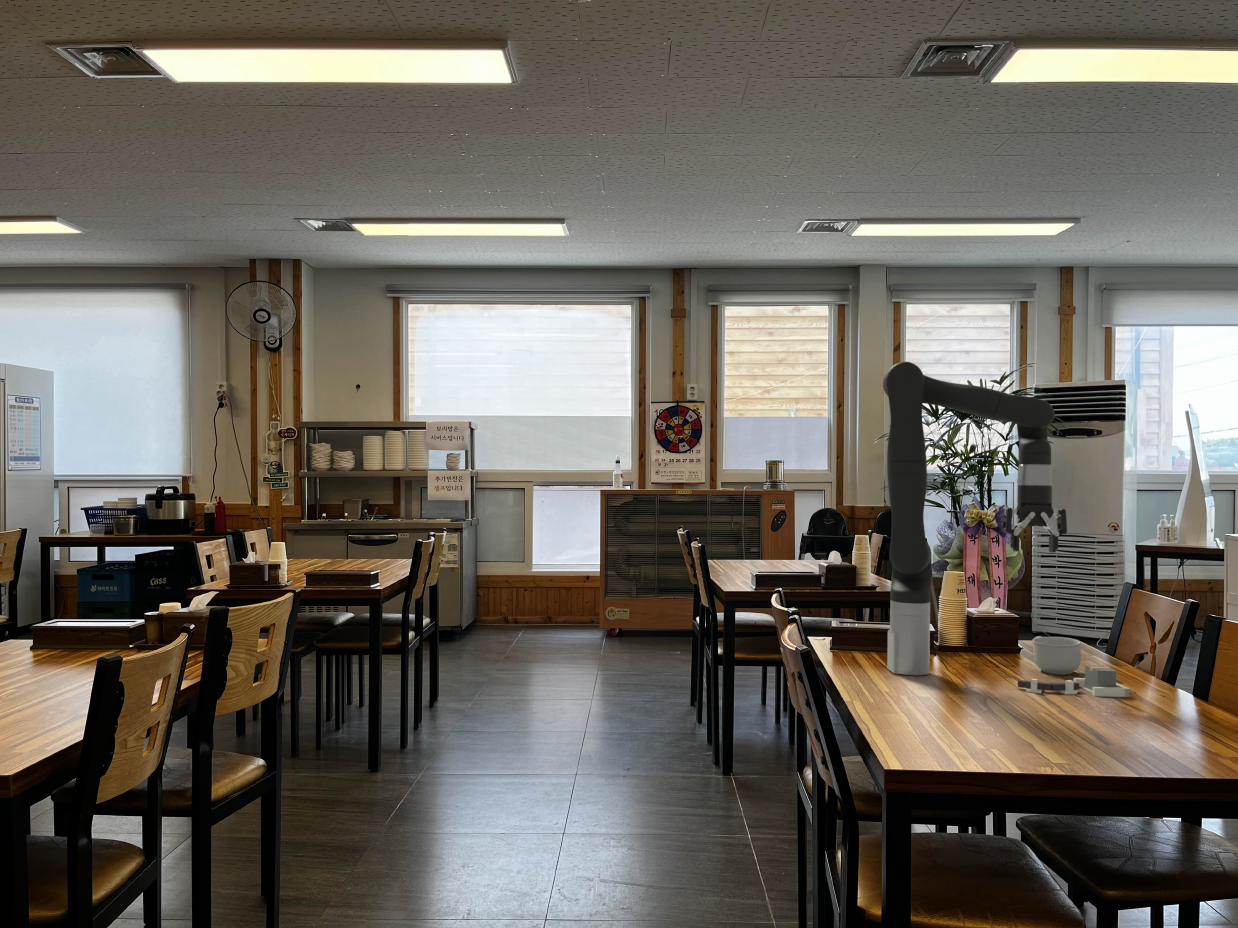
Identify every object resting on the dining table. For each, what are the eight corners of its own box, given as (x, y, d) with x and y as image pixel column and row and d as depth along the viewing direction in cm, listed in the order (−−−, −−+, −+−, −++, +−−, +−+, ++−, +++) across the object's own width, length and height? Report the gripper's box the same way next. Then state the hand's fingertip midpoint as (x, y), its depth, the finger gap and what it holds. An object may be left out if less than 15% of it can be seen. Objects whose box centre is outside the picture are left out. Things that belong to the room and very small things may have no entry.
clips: (1029, 693, 200) (1029, 680, 200) (1019, 687, 206) (1019, 675, 206) (1079, 694, 200) (1079, 681, 200) (1067, 688, 205) (1067, 676, 205)
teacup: (1089, 677, 218) (1089, 644, 219) (1043, 676, 219) (1044, 643, 219) (1062, 665, 232) (1062, 634, 232) (1019, 664, 233) (1019, 633, 233)
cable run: (1023, 690, 201) (1023, 683, 201) (1015, 685, 205) (1015, 679, 205) (1083, 691, 200) (1083, 685, 200) (1074, 687, 205) (1074, 680, 205)
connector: (1097, 693, 201) (1097, 669, 201) (1084, 686, 207) (1084, 664, 207) (1116, 693, 200) (1116, 670, 200) (1102, 687, 206) (1102, 664, 206)
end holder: (1094, 696, 199) (1094, 687, 199) (1073, 685, 209) (1073, 677, 209) (1129, 696, 198) (1129, 688, 198) (1106, 686, 208) (1106, 678, 208)
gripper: (1010, 483, 213) (1010, 552, 213) (1072, 484, 213) (1071, 553, 212) (998, 483, 221) (997, 550, 220) (1058, 484, 220) (1057, 551, 220)
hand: (1034, 551), depth 216 cm, fingers open, 8 cm apart
